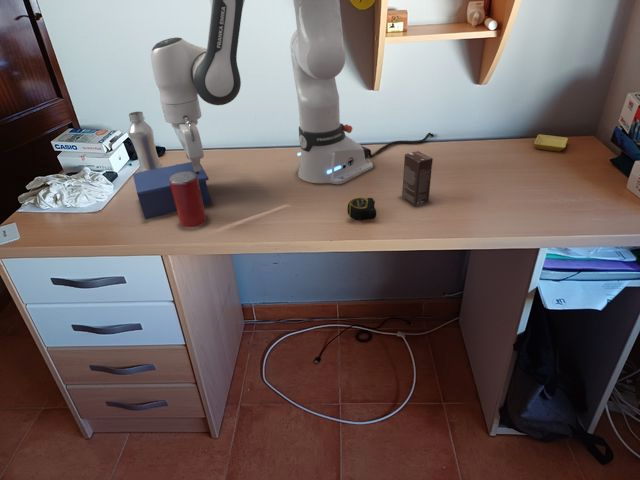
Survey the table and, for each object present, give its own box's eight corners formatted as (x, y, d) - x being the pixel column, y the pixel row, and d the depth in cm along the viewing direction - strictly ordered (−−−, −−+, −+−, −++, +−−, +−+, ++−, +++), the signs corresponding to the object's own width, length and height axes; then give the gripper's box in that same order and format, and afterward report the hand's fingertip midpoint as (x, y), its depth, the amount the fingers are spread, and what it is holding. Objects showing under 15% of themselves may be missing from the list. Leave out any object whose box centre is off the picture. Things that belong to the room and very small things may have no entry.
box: (429, 202, 113) (433, 158, 106) (414, 207, 111) (418, 162, 105) (415, 193, 117) (418, 150, 111) (401, 197, 116) (403, 153, 109)
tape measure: (376, 223, 106) (376, 209, 104) (347, 224, 106) (347, 210, 104) (374, 209, 111) (375, 195, 109) (347, 209, 112) (347, 196, 110)
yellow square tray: (563, 154, 133) (565, 147, 132) (532, 149, 137) (533, 143, 136) (566, 144, 140) (568, 137, 138) (536, 140, 143) (538, 134, 142)
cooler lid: (199, 162, 123) (195, 144, 121) (208, 180, 114) (204, 160, 111) (133, 176, 118) (127, 157, 115) (137, 195, 108) (131, 175, 105)
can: (201, 213, 114) (191, 168, 107) (210, 223, 110) (200, 177, 103) (177, 221, 111) (164, 176, 104) (185, 232, 107) (173, 185, 100)
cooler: (201, 187, 127) (196, 163, 123) (211, 205, 117) (205, 180, 113) (141, 201, 122) (133, 176, 118) (145, 221, 112) (137, 195, 108)
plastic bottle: (159, 185, 130) (140, 117, 119) (138, 184, 131) (118, 117, 120) (169, 175, 135) (152, 109, 124) (149, 174, 136) (131, 109, 126)
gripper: (203, 120, 102) (214, 175, 109) (187, 99, 118) (198, 149, 125) (175, 125, 100) (188, 181, 107) (163, 103, 116) (175, 153, 123)
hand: (193, 163), depth 117 cm, fingers open, 8 cm apart
